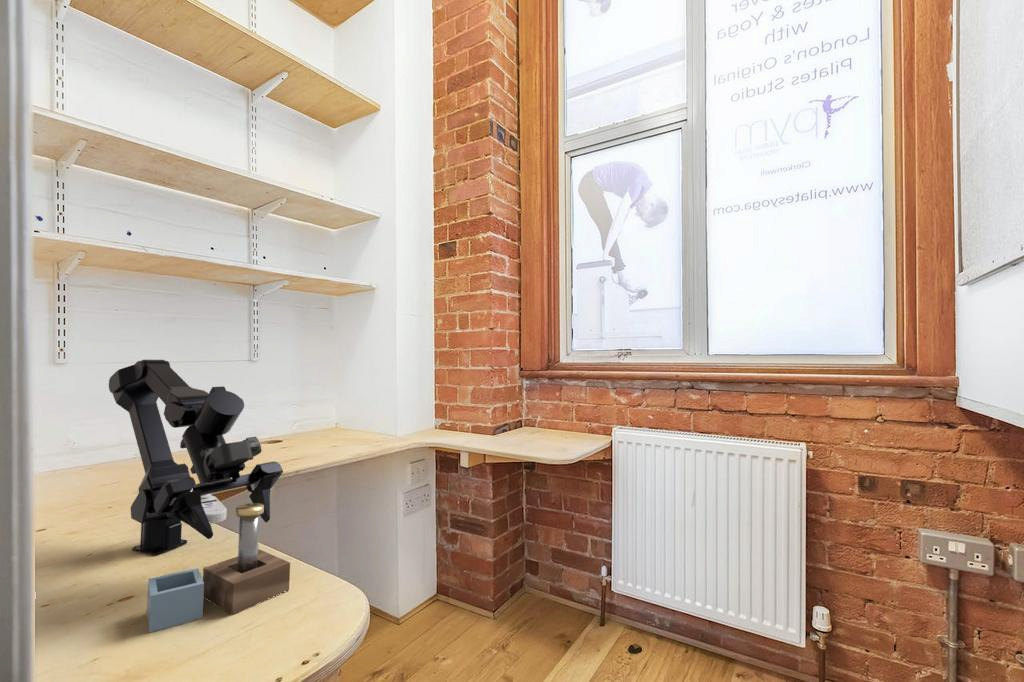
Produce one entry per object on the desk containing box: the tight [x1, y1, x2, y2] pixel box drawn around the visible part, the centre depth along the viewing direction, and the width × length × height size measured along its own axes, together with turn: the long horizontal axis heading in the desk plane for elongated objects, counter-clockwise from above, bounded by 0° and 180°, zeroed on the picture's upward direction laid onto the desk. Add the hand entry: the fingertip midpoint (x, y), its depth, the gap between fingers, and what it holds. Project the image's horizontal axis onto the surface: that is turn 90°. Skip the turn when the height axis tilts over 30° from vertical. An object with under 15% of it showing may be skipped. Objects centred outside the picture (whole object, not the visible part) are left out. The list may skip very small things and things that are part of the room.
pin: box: [235, 502, 264, 574], centre depth 77 cm, size 4×4×14 cm
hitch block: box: [202, 548, 291, 616], centre depth 77 cm, size 9×9×4 cm
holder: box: [146, 567, 204, 634], centre depth 70 cm, size 6×6×5 cm
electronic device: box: [201, 493, 228, 524], centre depth 113 cm, size 5×10×15 cm
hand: (240, 528), depth 79 cm, fingers open, 9 cm apart
